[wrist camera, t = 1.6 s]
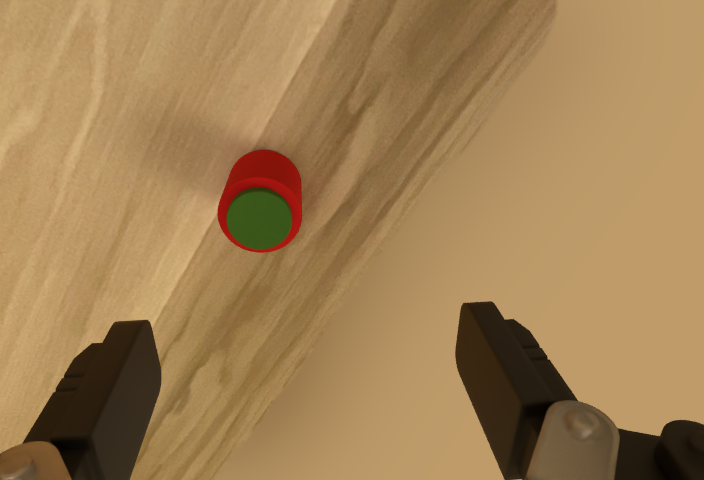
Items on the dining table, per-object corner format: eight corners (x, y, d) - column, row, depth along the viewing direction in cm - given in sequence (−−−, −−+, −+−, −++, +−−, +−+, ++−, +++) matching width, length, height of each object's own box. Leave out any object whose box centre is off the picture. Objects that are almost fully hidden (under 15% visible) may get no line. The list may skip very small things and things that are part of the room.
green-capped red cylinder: (278, 137, 27) (274, 166, 23) (313, 197, 29) (316, 236, 24) (214, 170, 28) (198, 205, 23) (253, 228, 30) (245, 271, 25)
